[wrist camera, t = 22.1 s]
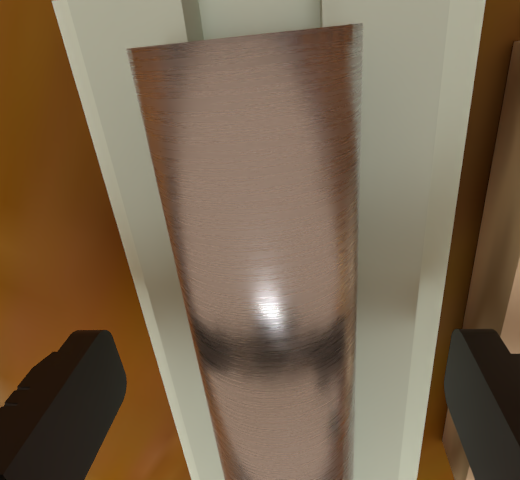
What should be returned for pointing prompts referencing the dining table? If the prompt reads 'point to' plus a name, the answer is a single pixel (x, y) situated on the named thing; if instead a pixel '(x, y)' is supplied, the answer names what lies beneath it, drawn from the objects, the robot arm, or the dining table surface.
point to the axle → (265, 235)
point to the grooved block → (370, 193)
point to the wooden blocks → (496, 251)
